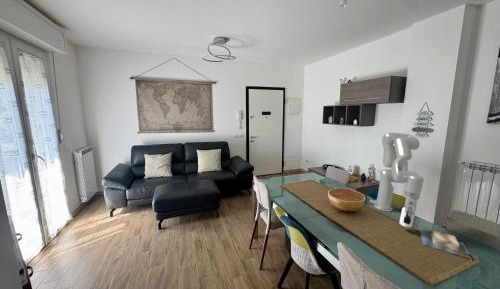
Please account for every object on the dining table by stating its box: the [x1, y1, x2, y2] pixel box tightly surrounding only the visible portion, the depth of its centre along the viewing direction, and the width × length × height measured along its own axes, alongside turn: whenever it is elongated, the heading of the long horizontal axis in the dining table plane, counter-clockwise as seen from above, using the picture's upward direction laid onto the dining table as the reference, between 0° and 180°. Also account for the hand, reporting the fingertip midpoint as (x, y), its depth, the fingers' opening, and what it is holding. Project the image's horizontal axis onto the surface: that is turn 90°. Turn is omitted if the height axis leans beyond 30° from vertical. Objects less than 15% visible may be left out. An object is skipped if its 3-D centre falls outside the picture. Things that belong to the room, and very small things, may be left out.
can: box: [399, 205, 416, 229], centre depth 131 cm, size 6×6×12 cm
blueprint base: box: [419, 229, 471, 255], centre depth 120 cm, size 20×18×5 cm
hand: (406, 220), depth 131 cm, fingers closed on can, 6 cm apart
